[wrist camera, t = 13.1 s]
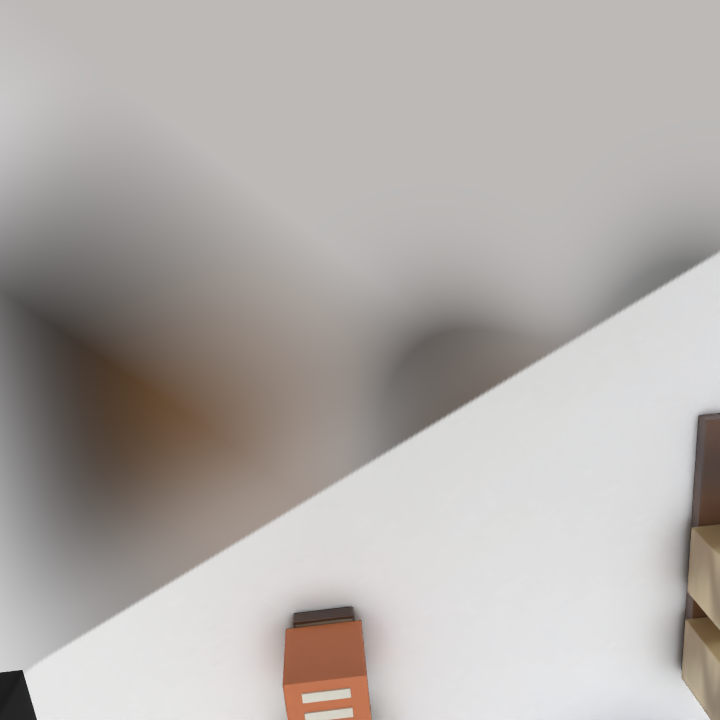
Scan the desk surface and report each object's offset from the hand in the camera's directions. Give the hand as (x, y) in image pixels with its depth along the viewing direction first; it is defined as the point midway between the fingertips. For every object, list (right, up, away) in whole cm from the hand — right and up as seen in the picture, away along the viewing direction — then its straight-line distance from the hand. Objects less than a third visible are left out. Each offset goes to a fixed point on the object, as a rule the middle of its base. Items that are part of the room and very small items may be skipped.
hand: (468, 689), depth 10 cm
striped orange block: (-4, -13, +31) cm, 34 cm away
